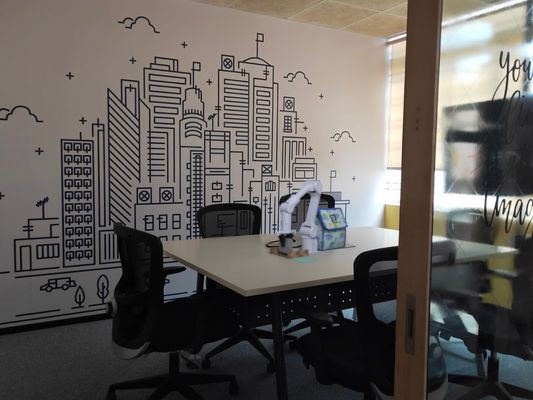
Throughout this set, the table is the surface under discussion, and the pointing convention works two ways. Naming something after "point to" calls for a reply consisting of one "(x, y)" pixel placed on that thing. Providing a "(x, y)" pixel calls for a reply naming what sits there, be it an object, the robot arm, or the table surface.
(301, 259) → the teal mat
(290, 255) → the walnut rack
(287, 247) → the gray rectangular block
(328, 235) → the lunch bag
